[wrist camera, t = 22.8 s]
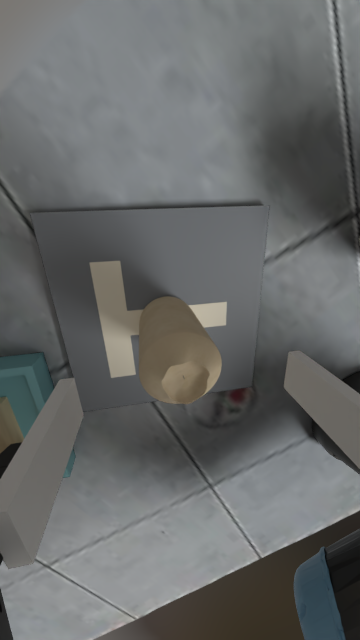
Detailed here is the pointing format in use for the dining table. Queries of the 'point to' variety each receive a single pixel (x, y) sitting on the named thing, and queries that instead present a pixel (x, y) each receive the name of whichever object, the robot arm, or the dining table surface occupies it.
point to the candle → (175, 353)
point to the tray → (27, 390)
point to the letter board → (151, 288)
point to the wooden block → (8, 425)
